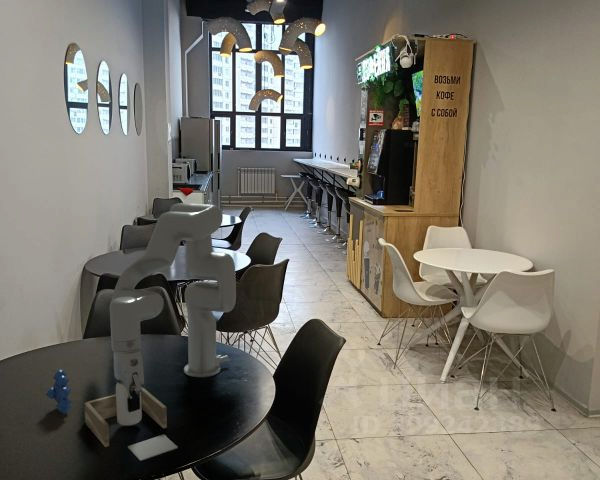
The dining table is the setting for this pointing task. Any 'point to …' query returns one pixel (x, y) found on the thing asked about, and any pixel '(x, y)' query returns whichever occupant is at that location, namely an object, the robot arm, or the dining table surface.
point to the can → (126, 407)
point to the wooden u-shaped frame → (108, 408)
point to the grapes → (60, 391)
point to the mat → (152, 447)
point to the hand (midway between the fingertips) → (129, 405)
